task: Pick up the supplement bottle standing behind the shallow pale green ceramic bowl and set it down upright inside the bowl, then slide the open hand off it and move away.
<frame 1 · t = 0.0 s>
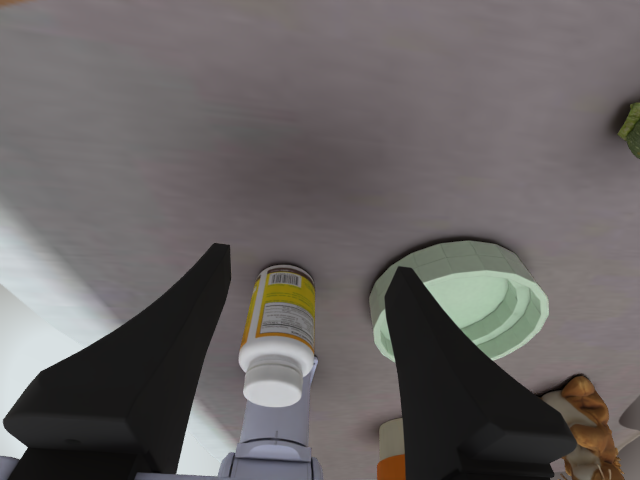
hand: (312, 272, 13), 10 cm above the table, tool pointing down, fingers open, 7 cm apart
bowl: (442, 293, 29), on the table
stuffed squirrel: (558, 398, 44), on the table
supplement bottle: (286, 281, 29), on the table
reusable coffee cup: (406, 426, 51), on the table
vegetable: (628, 124, 19), on the table
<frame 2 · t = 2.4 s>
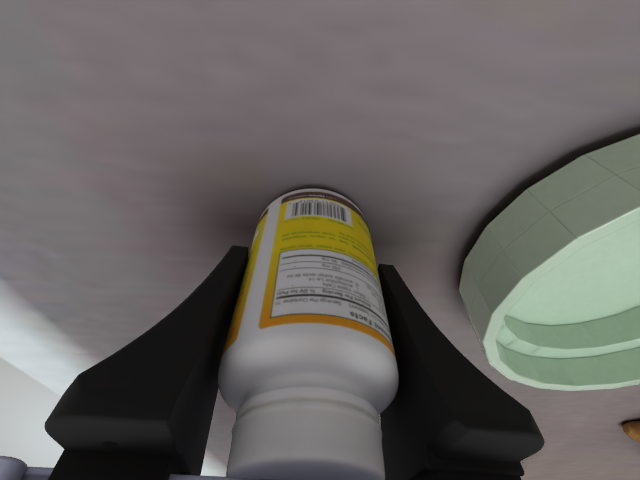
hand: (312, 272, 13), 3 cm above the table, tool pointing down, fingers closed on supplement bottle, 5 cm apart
bowl: (594, 253, 16), on the table
supplement bottle: (313, 228, 16), on the table, touching gripper
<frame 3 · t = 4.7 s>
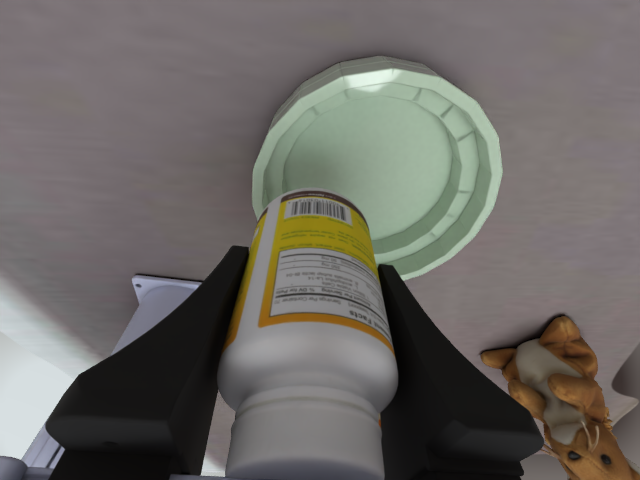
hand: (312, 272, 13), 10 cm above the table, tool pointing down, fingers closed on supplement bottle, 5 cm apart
bowl: (365, 173, 21), on the table
stuffed squirrel: (538, 352, 36), on the table
supplement bottle: (313, 228, 16), point 7 cm above the table, touching gripper
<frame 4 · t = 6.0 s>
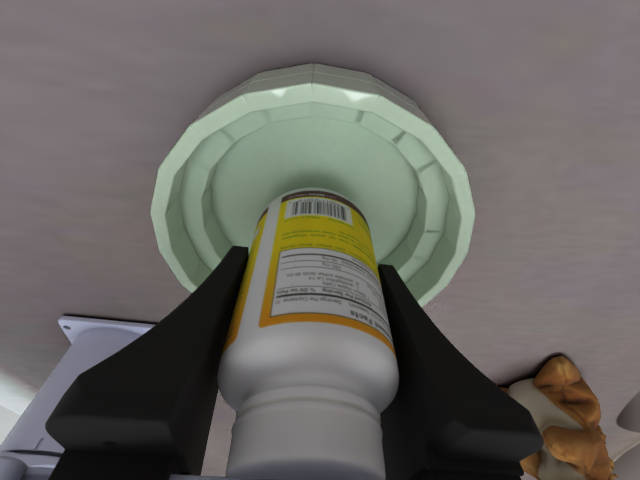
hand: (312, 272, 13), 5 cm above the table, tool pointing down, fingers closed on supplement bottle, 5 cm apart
bowl: (315, 205, 17), on the table
stuffed squirrel: (533, 390, 32), on the table
supplement bottle: (313, 228, 16), point 2 cm above the table, touching gripper
when the fingers open (3 cm above the table, at t = 7.1 s): supplement bottle stays where it is, resting on bowl.
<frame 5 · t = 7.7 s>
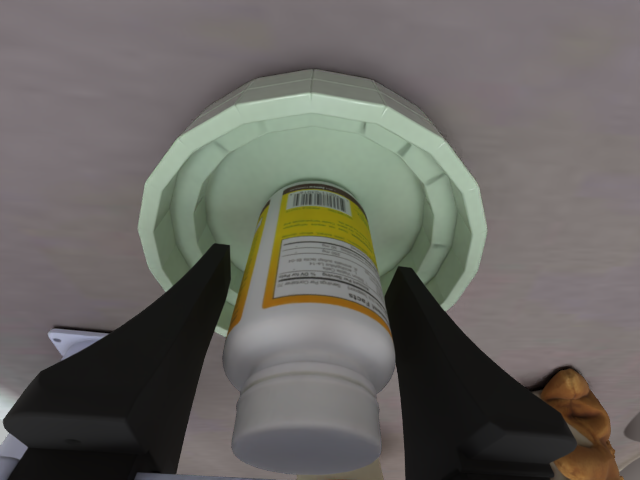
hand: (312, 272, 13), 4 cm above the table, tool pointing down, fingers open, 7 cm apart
bowl: (314, 217, 16), on the table
stuffed squirrel: (539, 402, 31), on the table
supplement bottle: (314, 220, 16), resting on bowl
reusable coffee cup: (338, 439, 38), on the table
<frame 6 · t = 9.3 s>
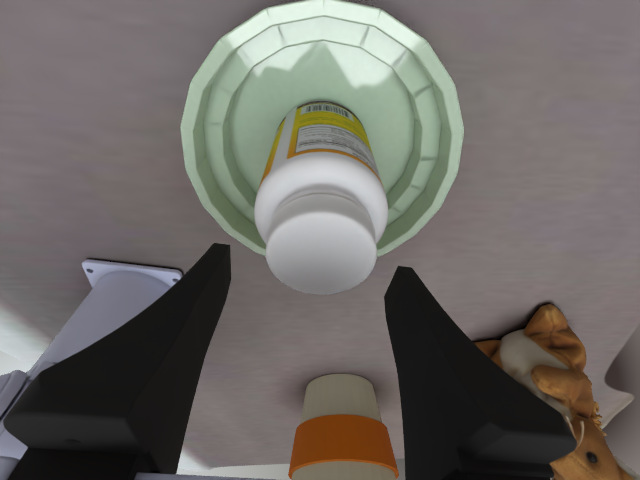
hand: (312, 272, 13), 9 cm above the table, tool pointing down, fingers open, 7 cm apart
bowl: (321, 142, 19), on the table
stuffed squirrel: (524, 344, 34), on the table
supplement bottle: (321, 143, 19), resting on bowl
reusable coffee cup: (339, 388, 41), on the table
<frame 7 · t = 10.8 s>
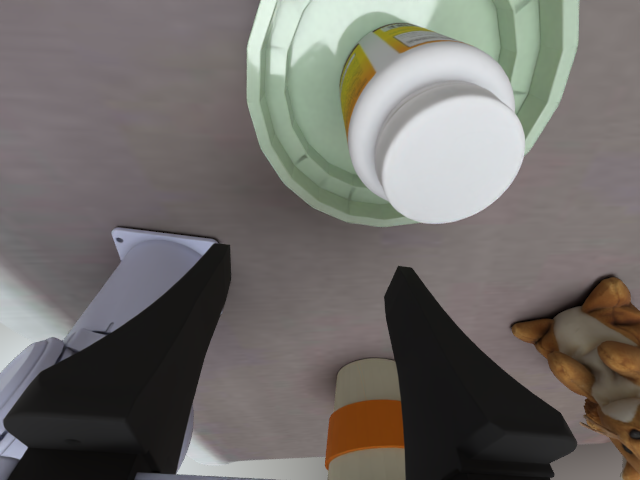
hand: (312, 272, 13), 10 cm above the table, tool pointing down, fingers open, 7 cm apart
bowl: (388, 82, 17), on the table
stuffed squirrel: (576, 324, 32), on the table
supplement bottle: (389, 82, 17), resting on bowl
reusable coffee cup: (372, 375, 39), on the table
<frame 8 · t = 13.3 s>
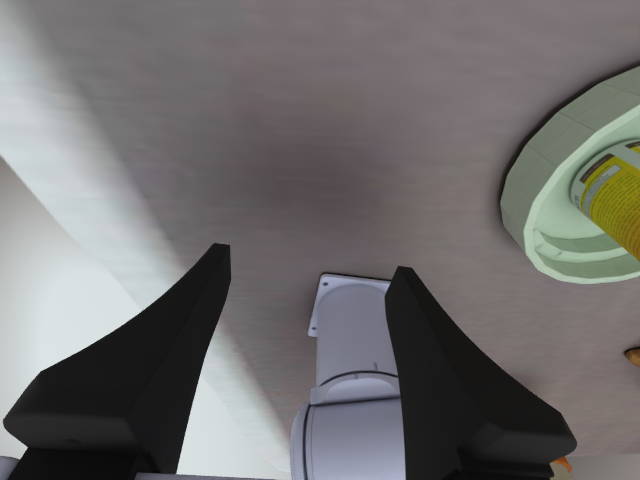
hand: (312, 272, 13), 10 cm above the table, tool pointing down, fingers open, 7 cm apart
bowl: (605, 172, 21), on the table
supplement bottle: (609, 174, 21), resting on bowl
reusable coffee cup: (480, 392, 43), on the table
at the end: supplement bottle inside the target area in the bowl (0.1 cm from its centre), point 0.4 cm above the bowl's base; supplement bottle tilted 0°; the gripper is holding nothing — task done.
